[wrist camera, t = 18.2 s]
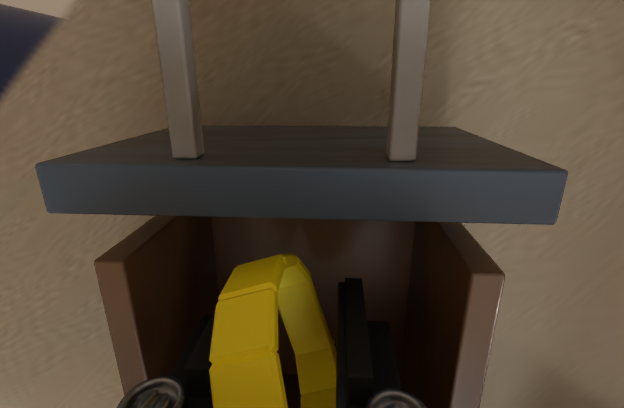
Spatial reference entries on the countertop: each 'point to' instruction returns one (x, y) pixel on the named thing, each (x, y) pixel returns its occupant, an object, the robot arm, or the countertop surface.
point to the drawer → (307, 220)
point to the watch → (270, 337)
